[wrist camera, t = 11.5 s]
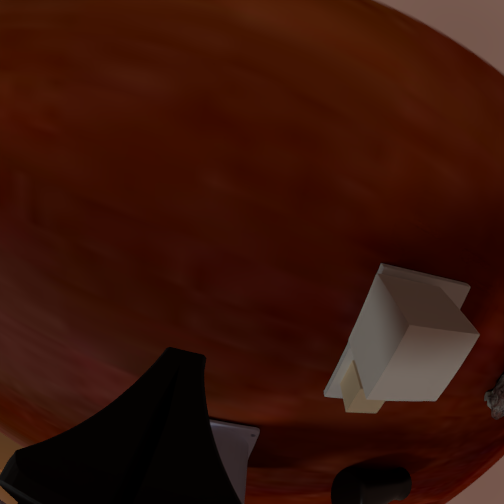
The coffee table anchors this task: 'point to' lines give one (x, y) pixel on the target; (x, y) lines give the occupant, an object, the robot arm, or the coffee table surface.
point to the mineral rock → (496, 399)
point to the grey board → (346, 372)
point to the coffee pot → (370, 486)
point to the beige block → (409, 340)
